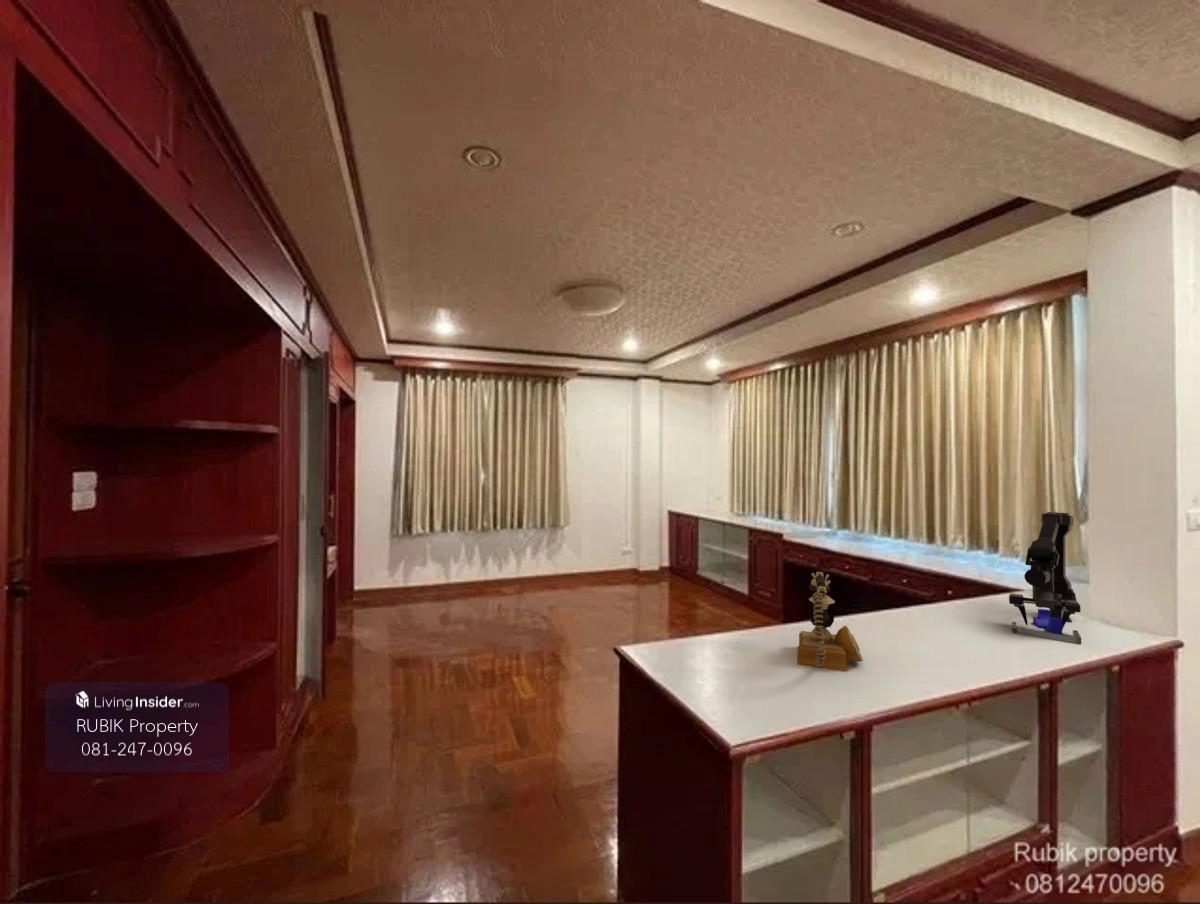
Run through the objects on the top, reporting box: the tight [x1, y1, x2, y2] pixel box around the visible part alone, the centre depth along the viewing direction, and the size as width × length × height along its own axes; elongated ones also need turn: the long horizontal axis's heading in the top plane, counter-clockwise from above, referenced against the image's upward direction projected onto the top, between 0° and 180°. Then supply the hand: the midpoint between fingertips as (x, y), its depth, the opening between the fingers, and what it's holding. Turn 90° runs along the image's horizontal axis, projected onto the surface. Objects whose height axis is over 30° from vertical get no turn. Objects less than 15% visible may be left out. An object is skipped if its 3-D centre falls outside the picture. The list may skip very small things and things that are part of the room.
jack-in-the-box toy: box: [796, 571, 864, 672], centre depth 152 cm, size 35×18×25 cm, turn 159°
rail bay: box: [1011, 621, 1082, 645], centre depth 180 cm, size 9×17×2 cm, turn 54°
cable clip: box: [1032, 608, 1063, 634], centre depth 186 cm, size 12×4×6 cm, turn 157°
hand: (1043, 627), depth 183 cm, fingers open, 9 cm apart
